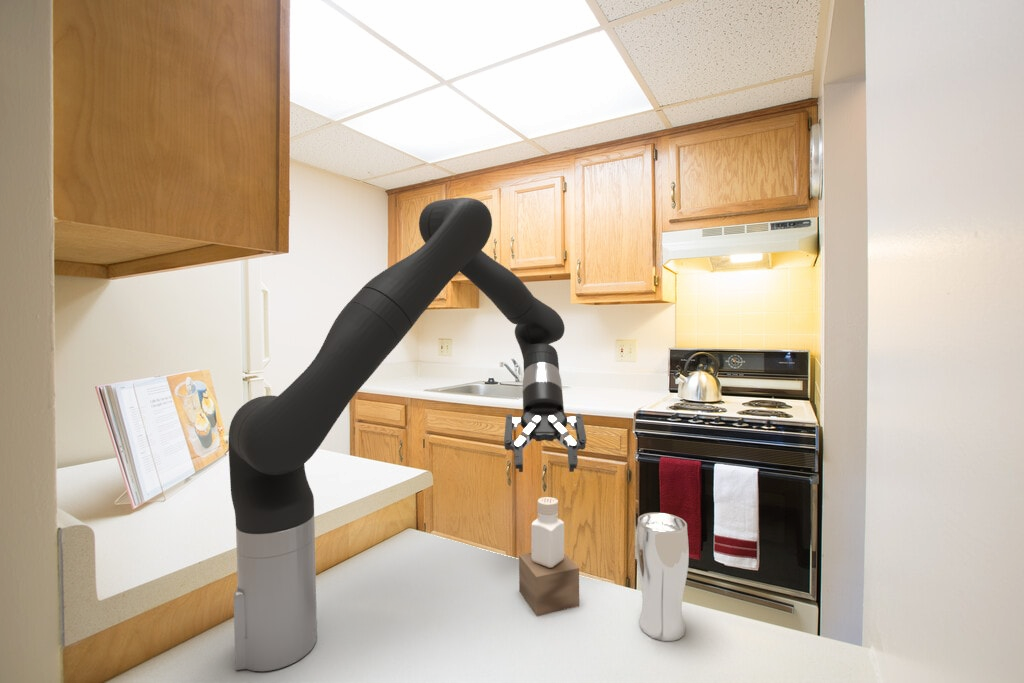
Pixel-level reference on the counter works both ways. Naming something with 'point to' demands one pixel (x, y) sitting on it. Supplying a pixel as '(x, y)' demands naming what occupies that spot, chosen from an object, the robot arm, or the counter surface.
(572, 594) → the walnut block
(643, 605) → the beer glass
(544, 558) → the pepper shaker
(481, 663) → the counter surface
